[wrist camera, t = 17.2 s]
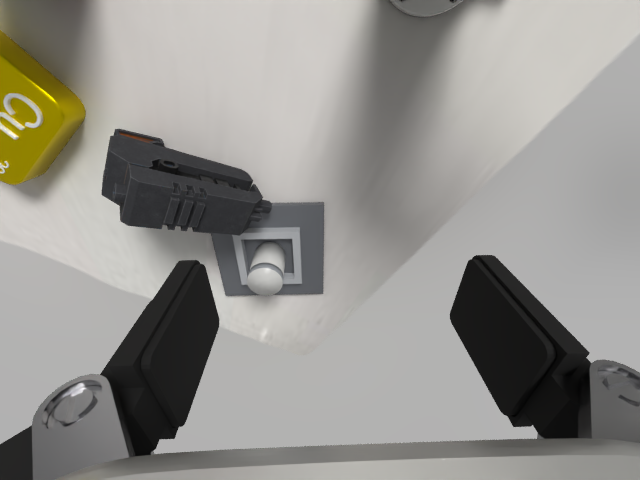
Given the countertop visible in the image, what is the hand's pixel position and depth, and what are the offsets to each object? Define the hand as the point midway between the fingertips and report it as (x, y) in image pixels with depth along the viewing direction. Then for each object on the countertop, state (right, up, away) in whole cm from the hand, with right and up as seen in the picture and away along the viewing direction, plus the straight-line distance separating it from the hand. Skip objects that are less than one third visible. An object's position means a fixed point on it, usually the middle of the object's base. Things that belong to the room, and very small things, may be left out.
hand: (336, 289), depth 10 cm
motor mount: (-9, 0, +38) cm, 39 cm away
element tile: (-40, +20, +25) cm, 51 cm away
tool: (-17, +12, +30) cm, 37 cm away
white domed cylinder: (-9, -1, +37) cm, 38 cm away
